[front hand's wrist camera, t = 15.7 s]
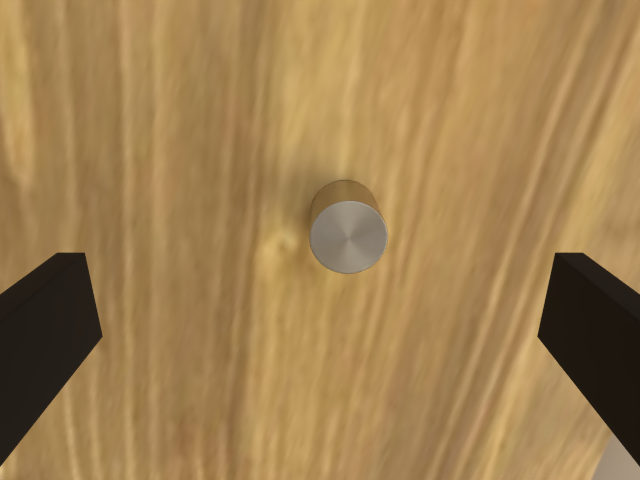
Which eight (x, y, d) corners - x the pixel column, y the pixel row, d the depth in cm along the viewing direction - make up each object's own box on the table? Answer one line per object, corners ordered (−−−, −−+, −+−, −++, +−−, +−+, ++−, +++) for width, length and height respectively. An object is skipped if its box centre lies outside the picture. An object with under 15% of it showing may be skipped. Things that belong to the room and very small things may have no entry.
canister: (365, 250, 30) (373, 282, 26) (303, 234, 30) (300, 262, 26) (386, 190, 29) (399, 213, 24) (321, 171, 28) (322, 191, 24)
